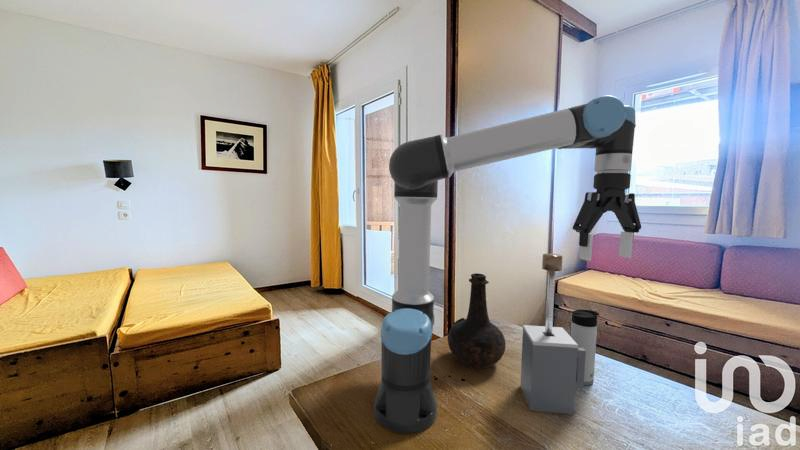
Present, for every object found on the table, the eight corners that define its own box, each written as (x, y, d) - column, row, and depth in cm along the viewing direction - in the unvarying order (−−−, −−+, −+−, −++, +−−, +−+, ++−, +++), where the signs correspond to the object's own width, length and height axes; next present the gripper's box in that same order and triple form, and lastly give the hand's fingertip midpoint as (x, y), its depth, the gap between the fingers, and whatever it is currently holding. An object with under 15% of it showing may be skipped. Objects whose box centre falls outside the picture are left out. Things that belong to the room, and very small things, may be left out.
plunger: (541, 350, 78) (545, 256, 76) (536, 342, 83) (540, 253, 81) (560, 351, 78) (565, 257, 76) (554, 343, 82) (558, 253, 80)
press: (530, 410, 77) (533, 341, 76) (520, 385, 87) (523, 325, 86) (590, 415, 75) (594, 345, 74) (573, 390, 85) (576, 328, 84)
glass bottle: (470, 342, 113) (473, 265, 110) (516, 363, 99) (520, 275, 97) (435, 358, 102) (436, 272, 99) (481, 384, 88) (484, 285, 85)
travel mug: (598, 387, 87) (603, 316, 85) (572, 384, 88) (576, 314, 86) (589, 374, 93) (593, 308, 91) (565, 372, 94) (569, 306, 92)
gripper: (587, 169, 70) (580, 264, 72) (663, 174, 78) (655, 258, 80) (560, 171, 77) (554, 257, 79) (632, 175, 85) (626, 253, 87)
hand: (605, 258), depth 79 cm, fingers open, 13 cm apart
